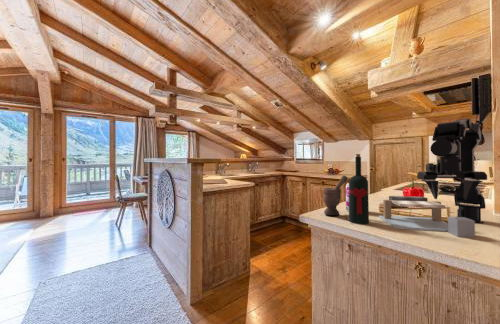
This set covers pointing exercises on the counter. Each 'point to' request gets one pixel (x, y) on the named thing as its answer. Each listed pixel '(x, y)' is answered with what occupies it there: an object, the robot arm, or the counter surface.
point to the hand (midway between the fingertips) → (450, 199)
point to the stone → (461, 227)
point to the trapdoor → (413, 202)
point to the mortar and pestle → (333, 197)
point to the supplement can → (347, 197)
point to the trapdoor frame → (414, 220)
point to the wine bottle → (358, 196)
